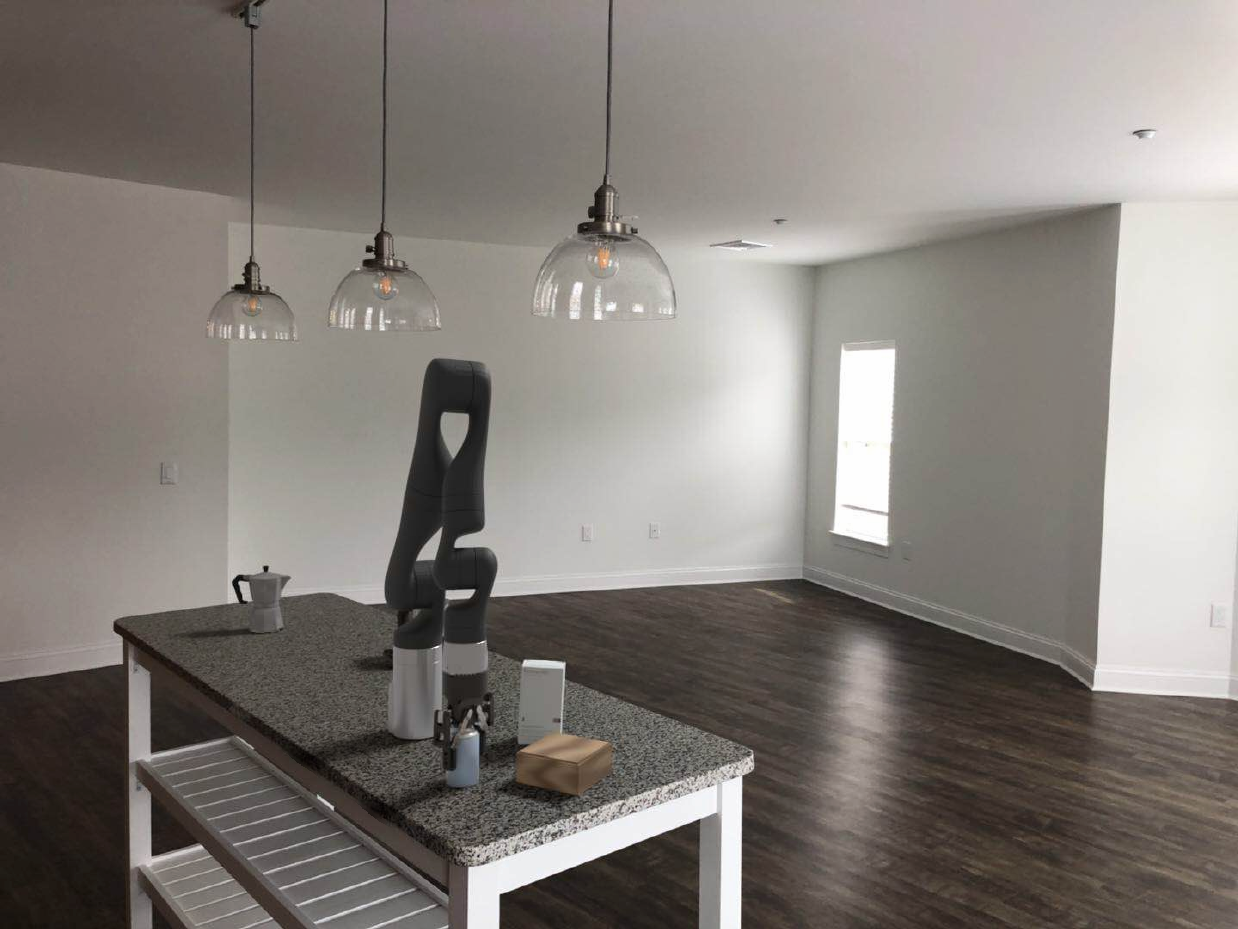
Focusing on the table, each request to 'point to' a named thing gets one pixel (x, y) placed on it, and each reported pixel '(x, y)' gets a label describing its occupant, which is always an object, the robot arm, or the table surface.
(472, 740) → the canister
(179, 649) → the table surface
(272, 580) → the coffeepot
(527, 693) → the skincare box
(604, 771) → the cardboard box
